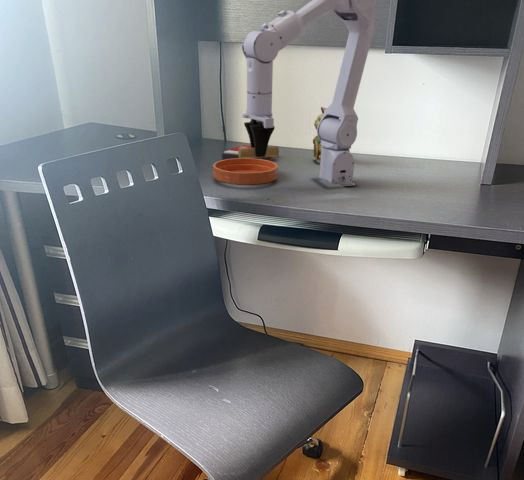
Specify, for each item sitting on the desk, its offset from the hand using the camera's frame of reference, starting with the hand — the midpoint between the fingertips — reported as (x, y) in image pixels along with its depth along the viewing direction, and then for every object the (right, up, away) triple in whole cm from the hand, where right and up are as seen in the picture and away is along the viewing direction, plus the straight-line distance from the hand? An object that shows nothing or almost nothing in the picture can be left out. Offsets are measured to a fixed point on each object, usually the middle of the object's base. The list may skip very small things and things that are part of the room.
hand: (258, 155), depth 129 cm
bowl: (-4, -2, +13) cm, 14 cm away
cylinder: (0, 0, 0) cm, 0 cm away
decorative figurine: (+20, +17, +29) cm, 39 cm away
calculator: (-3, +9, +31) cm, 32 cm away
